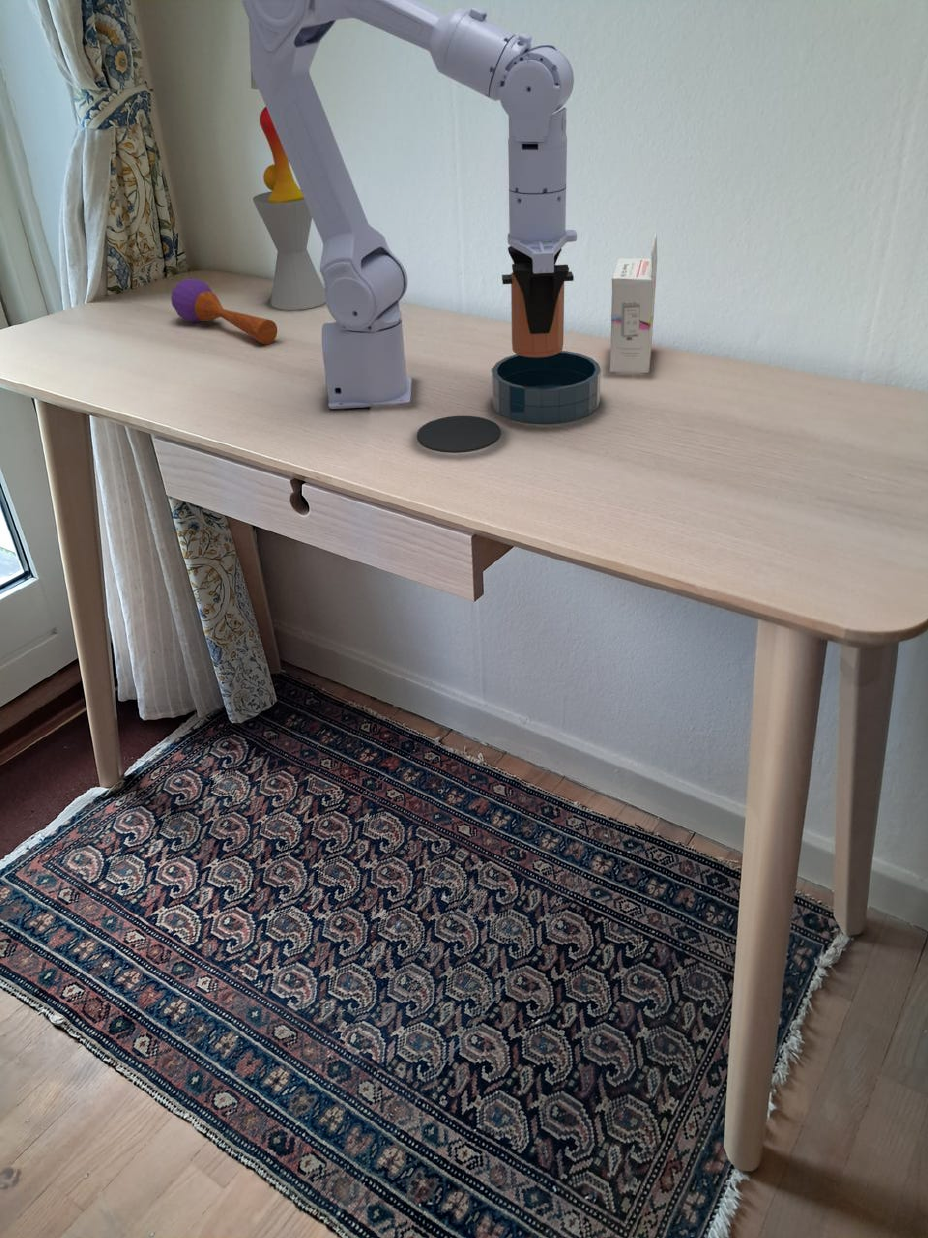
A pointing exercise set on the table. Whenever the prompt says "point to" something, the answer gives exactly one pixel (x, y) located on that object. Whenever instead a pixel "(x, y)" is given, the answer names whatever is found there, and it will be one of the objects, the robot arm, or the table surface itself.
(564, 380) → the blue shallow round container
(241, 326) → the maraca
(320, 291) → the lava lamp
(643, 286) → the ink cartridge box
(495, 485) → the table surface
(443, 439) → the disc
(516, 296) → the small pot
